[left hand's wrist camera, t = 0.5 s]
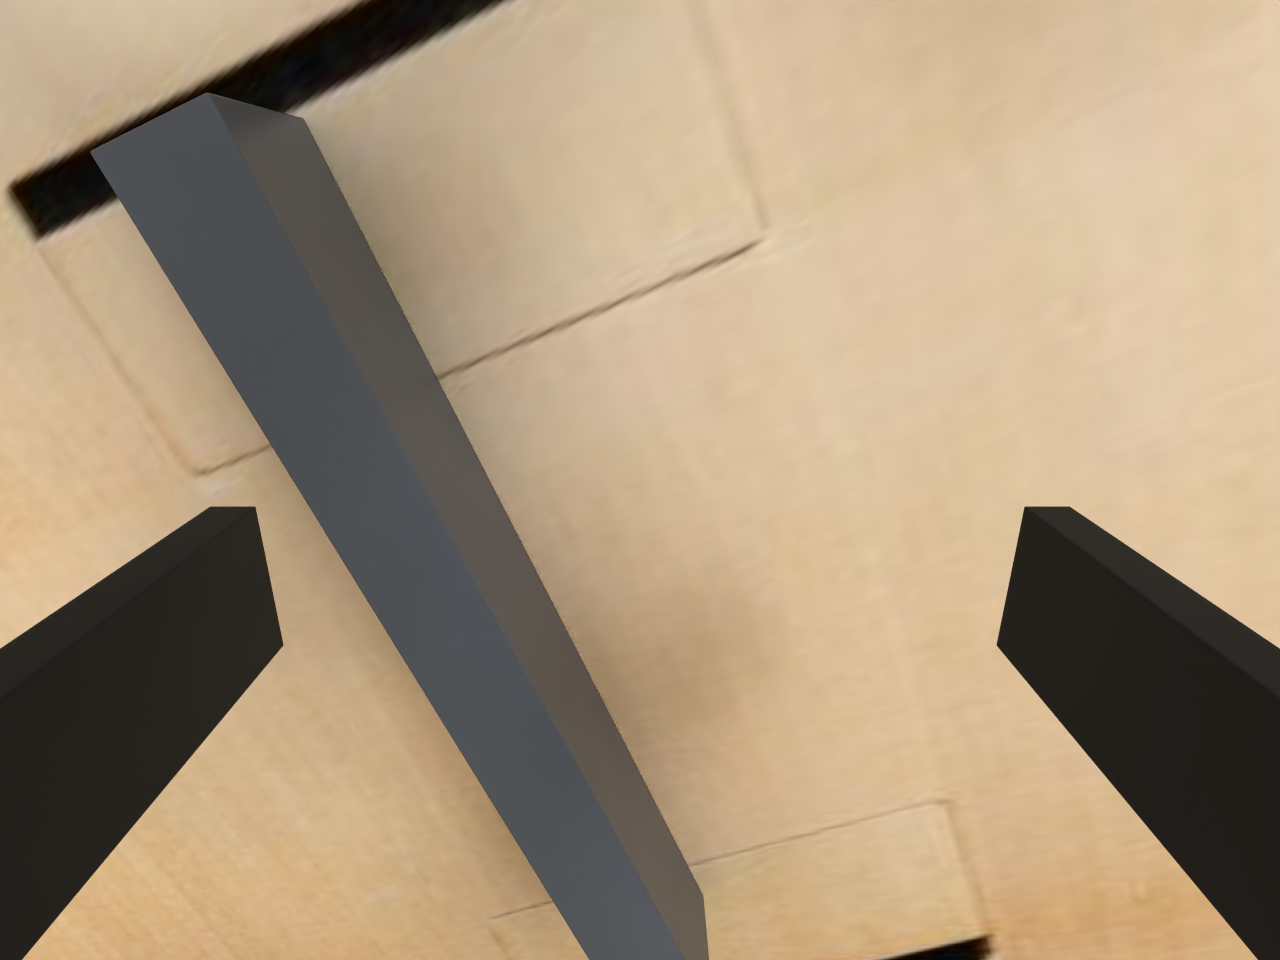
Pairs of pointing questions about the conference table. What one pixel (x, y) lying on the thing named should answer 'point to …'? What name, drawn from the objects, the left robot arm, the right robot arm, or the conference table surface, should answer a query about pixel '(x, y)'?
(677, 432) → the conference table surface
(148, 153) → the beam
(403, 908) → the conference table surface
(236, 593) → the left robot arm
